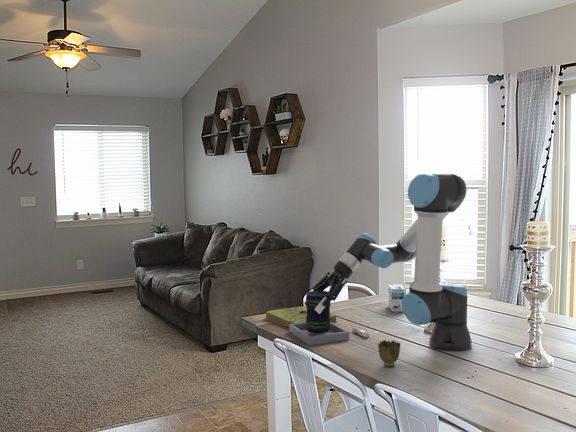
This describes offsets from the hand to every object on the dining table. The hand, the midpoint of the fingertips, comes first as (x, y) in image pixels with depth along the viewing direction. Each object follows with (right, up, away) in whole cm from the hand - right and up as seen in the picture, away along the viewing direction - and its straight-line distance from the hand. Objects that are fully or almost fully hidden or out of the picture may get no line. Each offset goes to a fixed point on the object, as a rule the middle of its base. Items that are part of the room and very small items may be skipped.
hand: (311, 308), depth 231 cm
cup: (+25, -14, -34) cm, 45 cm away
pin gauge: (+21, -10, +3) cm, 23 cm away
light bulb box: (+42, -7, +43) cm, 60 cm away
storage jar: (+3, -9, +2) cm, 10 cm away
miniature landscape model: (-4, -10, +26) cm, 28 cm away
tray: (+3, -11, +2) cm, 12 cm away
